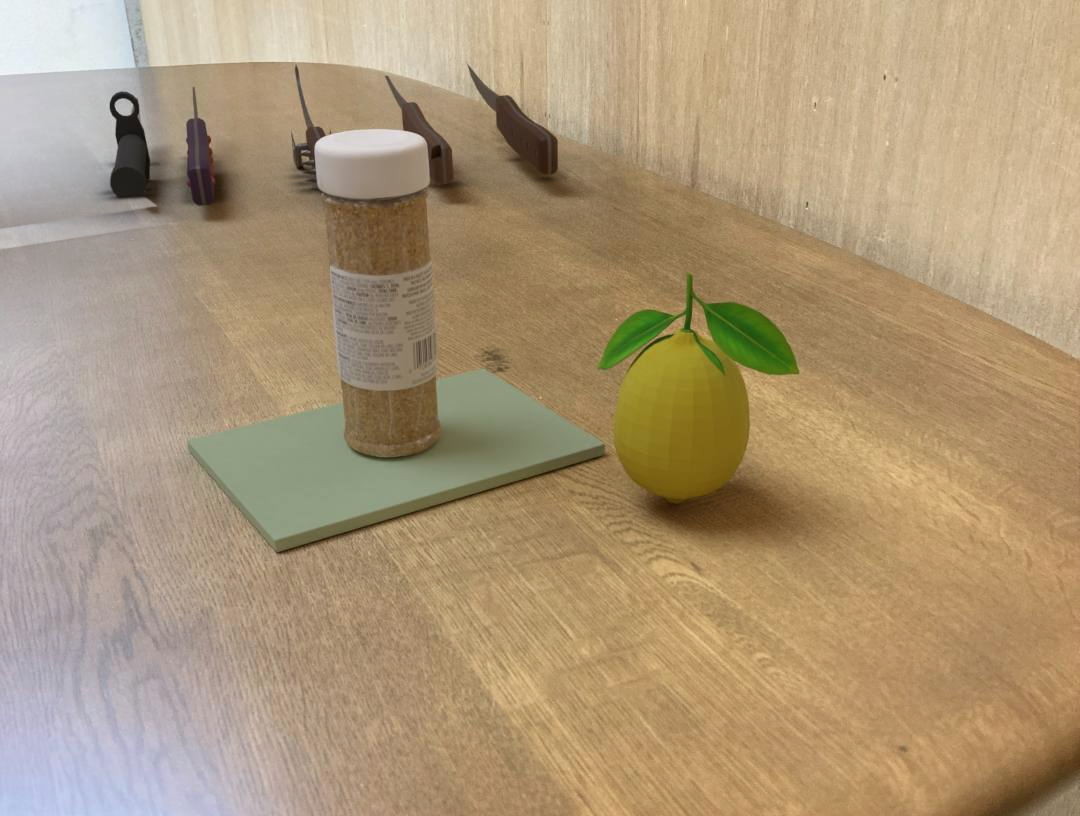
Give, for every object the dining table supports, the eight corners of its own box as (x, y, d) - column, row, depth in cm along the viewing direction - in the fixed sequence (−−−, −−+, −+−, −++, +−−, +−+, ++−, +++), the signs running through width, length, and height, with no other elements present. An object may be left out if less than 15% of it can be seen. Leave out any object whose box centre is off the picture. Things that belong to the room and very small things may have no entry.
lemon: (781, 528, 47) (809, 290, 42) (650, 553, 45) (663, 309, 40) (706, 459, 52) (723, 242, 47) (587, 479, 50) (591, 256, 45)
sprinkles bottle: (389, 411, 55) (367, 121, 48) (462, 434, 53) (450, 134, 46) (321, 445, 52) (288, 139, 45) (397, 471, 50) (374, 153, 43)
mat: (276, 553, 45) (274, 540, 45) (188, 450, 53) (186, 439, 53) (605, 455, 53) (605, 443, 52) (484, 378, 61) (484, 367, 60)
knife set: (476, 111, 120) (473, 31, 116) (561, 202, 94) (561, 104, 89) (131, 137, 113) (114, 54, 109) (117, 245, 86) (94, 140, 82)
